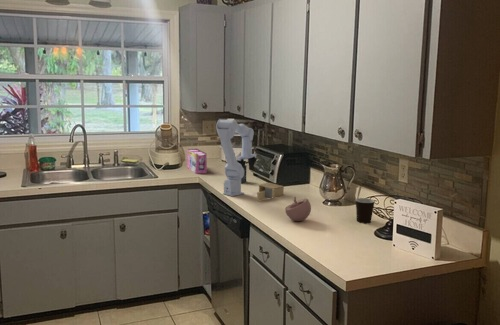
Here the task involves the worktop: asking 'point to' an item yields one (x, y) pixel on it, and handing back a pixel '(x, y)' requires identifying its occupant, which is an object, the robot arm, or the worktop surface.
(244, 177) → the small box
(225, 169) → the robot arm
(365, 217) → the coffee mug
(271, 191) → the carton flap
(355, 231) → the worktop surface
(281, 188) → the carton
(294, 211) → the mortar and pestle
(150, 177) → the worktop surface
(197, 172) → the gum box
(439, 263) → the worktop surface
